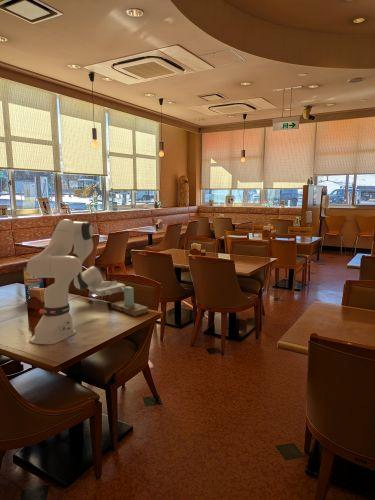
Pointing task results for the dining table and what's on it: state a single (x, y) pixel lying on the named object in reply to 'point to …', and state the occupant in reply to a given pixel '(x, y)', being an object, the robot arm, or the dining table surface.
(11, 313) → the dining table surface
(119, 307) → the grey slab with hole
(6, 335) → the dining table surface
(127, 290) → the pale green tall block
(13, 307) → the dining table surface
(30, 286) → the beverage box
